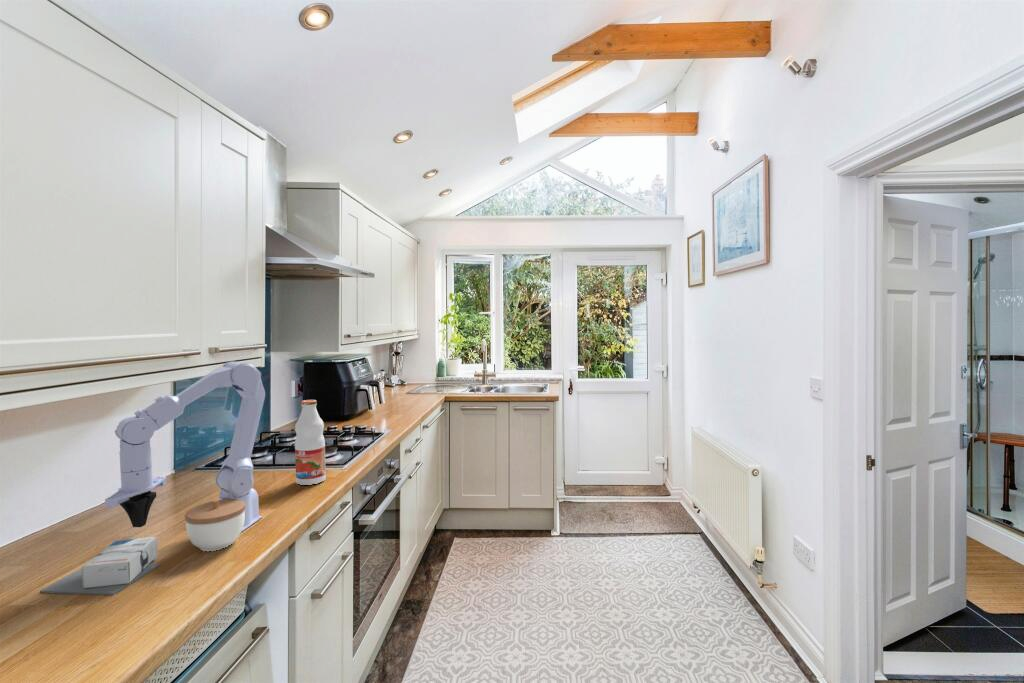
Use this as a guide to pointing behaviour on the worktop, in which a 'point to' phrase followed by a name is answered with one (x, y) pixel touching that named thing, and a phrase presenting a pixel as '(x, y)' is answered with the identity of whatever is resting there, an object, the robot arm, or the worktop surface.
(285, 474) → the worktop surface
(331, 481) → the worktop surface
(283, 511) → the worktop surface
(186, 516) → the lidded bowl
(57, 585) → the mat
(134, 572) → the ink box
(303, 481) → the fruit juice
